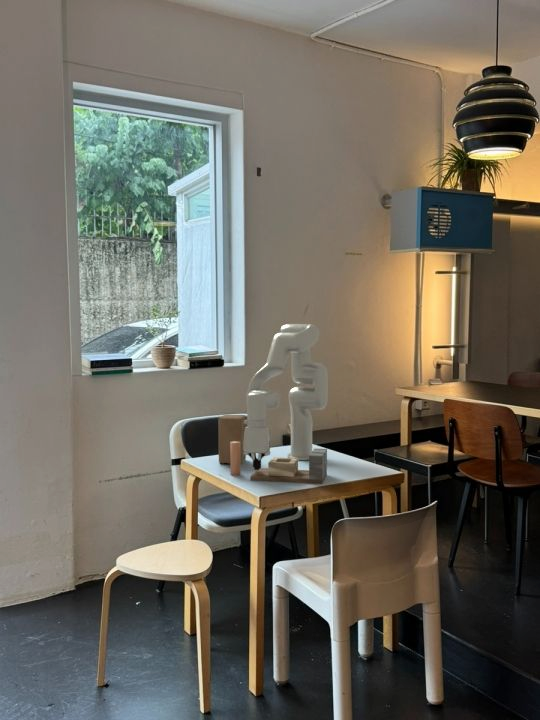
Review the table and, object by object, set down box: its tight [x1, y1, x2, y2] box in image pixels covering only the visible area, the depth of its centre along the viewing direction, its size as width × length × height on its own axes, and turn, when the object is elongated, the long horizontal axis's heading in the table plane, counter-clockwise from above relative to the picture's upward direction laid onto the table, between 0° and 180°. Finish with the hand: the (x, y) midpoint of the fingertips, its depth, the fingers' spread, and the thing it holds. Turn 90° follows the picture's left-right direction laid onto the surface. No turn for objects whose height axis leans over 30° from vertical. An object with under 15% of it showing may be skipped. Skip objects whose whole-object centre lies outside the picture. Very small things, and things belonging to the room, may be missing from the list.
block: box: [217, 414, 247, 465], centre depth 298 cm, size 10×10×20 cm
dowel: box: [230, 441, 242, 476], centre depth 277 cm, size 4×4×13 cm
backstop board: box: [249, 448, 328, 485], centre depth 271 cm, size 14×28×10 cm, turn 78°
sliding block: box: [267, 456, 299, 477], centre depth 272 cm, size 10×10×5 cm
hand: (257, 469), depth 274 cm, fingers closed
